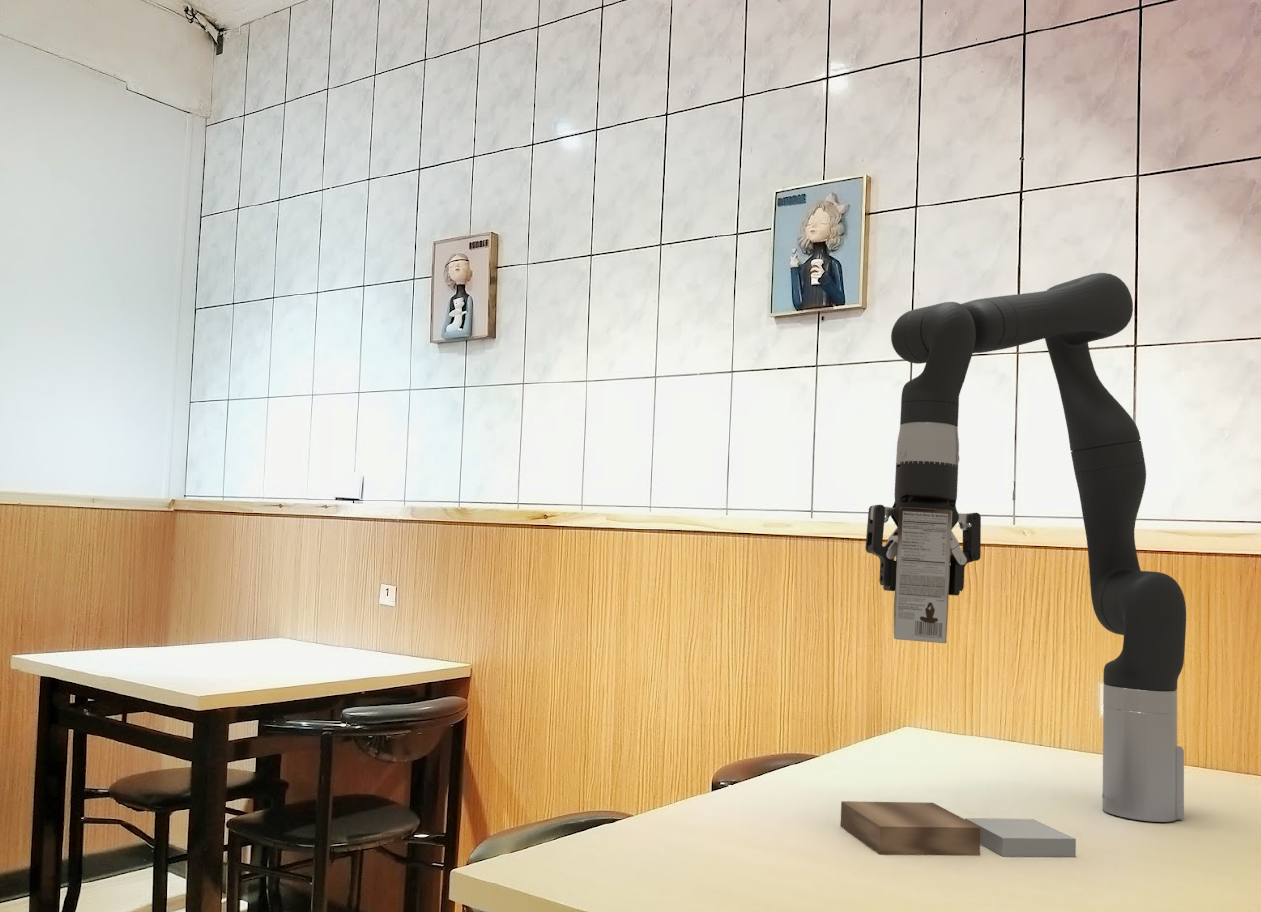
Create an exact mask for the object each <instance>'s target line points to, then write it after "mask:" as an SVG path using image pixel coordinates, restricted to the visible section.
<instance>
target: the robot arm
mask: <svg viewBox="0 0 1261 912" xmlns="http://www.w3.org/2000/svg"><path fill="white" fill-rule="evenodd" d="M1133 307H1134V303H1133V298H1132V293H1131V292H1130V289H1129V287H1128V286H1127V285H1126V283H1125V282H1124V281H1123V280H1122V279H1121V278H1120V277H1118V276H1116V275H1114V274H1112V273H1107V272H1096V273H1091V274H1088V275H1084V276H1080V277H1078V278H1074V279H1072V280H1069V281H1066V282H1065V281H1064V282H1061V283H1059V284H1058V283H1057V284H1055V285H1053V286H1052V287H1049V288H1047V290H1043V291H1036V292H1035V291H1034V292H1029V293H1028V292H1027V293H1018V294H1010V295H1009V294H1008V295H1002V296H1001V295H1000V296H992V297H986V298H985V297H984V298H977V299H974V300H971V301H970V300H969V301H966V302H963V303H960V302H956V301H945V302H939V303H936V304H933V305H928V306H925V307H920V308H915V309H911V310H908V311H907V312H904V313H903V314H902V315H901V316H899V317H898V318H897V320H896V321H895V323H894V324H893V327H892V329H891V335H890V341H891V345H892V348H893V350H894V351H895V353H896V354H897V356H899V357H900V358H901V359H902V360H904V361H906V362H908V363H912V364H917V365H919V364H925V365H924V368H923V371H922V372H921V373H920V374H919V375H918V376H916V377H915V378H912V379H910V380H909V381H907V382H906V383H905V384H903V385H904V386H903V387H902V390H901V396H900V397H901V401H900V421H899V423H900V424H899V433H898V436H897V442H896V459H895V474H894V475H895V476H894V477H895V478H894V479H895V480H894V502H893V505H892V507H890V506H884V504H873V505H871V506H869V508H868V514H867V525H866V526H867V527H866V535H865V536H866V538H865V548H864V549H865V551H866V552H867V554H872V555H874V556H876V557H877V558H878V559H879V566H880V567H879V581H878V582H879V585H880V586H882V588H883V591H885V592H886V591H887V592H890V591H891V592H895V587H896V567H897V561H896V560H895V559H896V555H897V548H898V536H897V532H898V523H899V510H900V507H911V508H928V509H937V510H951V511H952V529H951V552H950V575H949V596H959V595H960V592H963V590H964V587H965V568H966V566H967V565H968V564H969V563H972V562H977V561H979V560H980V559H981V553H982V552H981V550H982V549H981V545H982V544H981V542H982V541H981V537H982V535H981V533H982V532H981V531H982V530H981V529H982V526H981V525H982V523H981V522H982V521H981V519H982V518H981V517H982V516H981V514H980V513H978V512H969V513H961V512H960V513H959V512H958V510H957V506H956V505H957V498H958V484H959V483H958V480H959V478H958V477H959V463H960V440H959V407H960V394H961V392H962V388H963V385H964V383H965V381H966V380H965V379H966V376H967V372H968V369H969V367H970V363H971V360H972V356H973V354H981V353H990V352H995V351H1000V350H1005V349H1010V348H1014V347H1019V346H1022V345H1027V344H1029V343H1032V342H1037V341H1040V340H1045V344H1046V347H1047V351H1048V354H1049V358H1050V361H1051V364H1052V368H1053V373H1054V375H1055V379H1056V383H1057V385H1058V390H1059V394H1060V398H1061V404H1062V408H1063V413H1064V419H1065V423H1066V428H1067V434H1068V441H1069V443H1068V444H1069V450H1070V455H1071V461H1072V465H1073V471H1074V476H1075V480H1076V486H1077V489H1078V495H1079V498H1080V499H1079V500H1080V507H1081V513H1082V519H1083V525H1084V530H1085V531H1084V532H1085V536H1086V543H1087V544H1086V545H1087V553H1088V554H1087V555H1088V556H1087V557H1088V569H1089V570H1088V571H1089V572H1088V573H1089V586H1090V594H1091V595H1090V596H1091V603H1092V604H1091V605H1092V607H1093V611H1094V614H1095V616H1096V618H1097V620H1098V622H1099V623H1100V624H1101V625H1102V627H1103V628H1104V629H1106V630H1107V631H1109V632H1110V633H1113V634H1116V635H1119V636H1123V644H1122V649H1121V652H1120V653H1119V655H1118V656H1117V657H1116V658H1114V659H1113V660H1110V661H1108V662H1107V663H1105V665H1104V667H1103V687H1102V689H1103V690H1102V691H1103V692H1102V693H1103V694H1102V695H1103V697H1102V699H1103V700H1102V705H1103V706H1102V707H1103V711H1102V715H1103V717H1102V721H1103V723H1102V796H1101V797H1102V798H1101V799H1102V811H1104V812H1106V813H1108V814H1111V815H1114V816H1118V817H1122V818H1124V819H1125V818H1126V819H1130V820H1137V821H1143V822H1144V821H1145V822H1158V823H1160V822H1161V823H1170V822H1174V821H1178V820H1184V819H1185V767H1184V766H1185V752H1184V751H1185V750H1184V748H1183V747H1182V746H1180V745H1178V682H1179V681H1178V680H1179V677H1180V674H1181V672H1182V670H1183V667H1184V663H1185V649H1186V648H1185V647H1186V646H1185V645H1186V633H1187V631H1186V629H1187V605H1186V598H1185V595H1184V593H1183V590H1182V587H1181V586H1180V584H1179V583H1178V581H1176V580H1175V578H1173V577H1172V576H1171V575H1169V574H1167V573H1164V572H1160V571H1151V570H1150V571H1149V570H1141V566H1140V562H1139V559H1138V558H1139V557H1138V553H1137V547H1136V538H1135V528H1136V521H1137V517H1138V513H1139V509H1140V506H1141V504H1142V500H1143V496H1144V493H1145V489H1146V488H1145V487H1146V480H1147V470H1146V461H1145V455H1144V449H1143V446H1142V444H1143V443H1142V441H1141V434H1140V431H1139V429H1138V426H1137V424H1136V422H1135V420H1134V419H1133V418H1132V417H1131V415H1130V414H1129V412H1127V410H1126V409H1125V408H1124V407H1123V406H1122V405H1121V404H1120V402H1119V401H1118V400H1117V399H1116V398H1115V397H1114V396H1113V395H1112V394H1111V393H1110V391H1109V390H1108V389H1107V388H1106V387H1105V386H1104V384H1103V383H1102V381H1101V379H1100V378H1099V376H1098V374H1097V372H1096V369H1095V366H1094V363H1093V360H1092V356H1091V352H1090V347H1089V343H1090V342H1095V341H1099V340H1103V339H1107V338H1110V337H1113V336H1114V335H1116V334H1118V333H1120V332H1122V331H1123V330H1124V329H1125V328H1126V327H1127V326H1128V325H1129V324H1130V321H1131V320H1132V317H1133V311H1134V308H1133ZM890 517H891V520H892V521H893V522H894V525H895V526H896V527H895V530H894V531H893V532H892V533H891V535H890V536H888V539H887V542H886V543H885V544H884V545H883V541H884V530H885V524H886V523H888V522H889V518H890ZM957 524H958V526H959V528H960V530H962V549H961V547H960V542H959V540H958V538H957V537H956V536H955V534H954V532H953V531H952V530H953V529H954V528H955V526H956V525H957Z"/></svg>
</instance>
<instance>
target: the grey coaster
mask: <svg viewBox="0 0 1261 912" xmlns="http://www.w3.org/2000/svg"><path fill="white" fill-rule="evenodd" d="M964 819H965V820H967V821H969V822H971V823H973V824H974V825H976V826H978V827H980V845H982V846H983V847H985V848H987V849H988V850H991V851H993V852H995V853H996V854H998V855H1000V856H1002V857H1038V858H1039V857H1047V858H1048V857H1051V858H1053V857H1059V858H1062V857H1063V858H1065V857H1066V858H1068V857H1069V858H1072V857H1073V858H1074V857H1075V858H1076V856H1077V855H1076V852H1077V850H1076V849H1077V847H1076V846H1077V845H1076V844H1077V839H1076V838H1075V837H1073V836H1071V835H1068V834H1066V833H1064V832H1063V831H1060V830H1058V829H1056V828H1054V827H1052V826H1049V825H1047V824H1045V823H1043V822H1041V821H1039V820H1036V819H1034V818H986V817H985V818H981V817H980V818H977V817H976V818H973V817H971V818H970V817H965V818H964Z"/></svg>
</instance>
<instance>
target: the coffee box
mask: <svg viewBox="0 0 1261 912" xmlns="http://www.w3.org/2000/svg"><path fill="white" fill-rule="evenodd" d="M951 529H952V511H951V510H937V509H928V508H911V507H900V510H899V523H898V532H897V536H898V548H897V555H896V556H895V561H897V567H896V587H895V591H894V593H893V595H894V597H893V598H894V600H893V639H894V640H900V641H914V642H926V643H938V644H947V638H948V637H947V634H948V631H947V630H948V616H949V615H948V613H949V611H948V610H949V597H950V595H949V575H950V552H951ZM952 530H953V529H952Z"/></svg>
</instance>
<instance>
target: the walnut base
mask: <svg viewBox="0 0 1261 912" xmlns="http://www.w3.org/2000/svg"><path fill="white" fill-rule="evenodd" d="M840 803H841V805H840V827H841V828H842V829H844V831H846V832H848V833H849V834H850V835H852V836H854V838H856V839H857V840H859V841H861V842H862V843H863V844H865V845H866V846H867V847H869V848H870V849H871V850H873V851H874V852H876V853H877V854H878V855H929V856H930V855H931V856H932V855H936V856H938V855H941V856H942V855H943V856H945V855H947V856H949V855H950V856H953V855H954V856H956V855H957V856H958V855H959V856H962V855H963V856H966V855H967V856H981V844H980V827H978V826H976V825H974V824H973V823H971V822H969V821H967V820H965V818H963V817H961V816H959V815H958V814H956V813H953V812H952V811H950V810H948V809H946V808H944V807H942V806H941V805H938V804H936V803H934V802H912V801H911V802H909V801H908V802H906V801H856V800H855V801H854V800H853V801H849V800H848V801H847V800H846V801H845V800H843V801H842V800H841V802H840Z"/></svg>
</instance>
